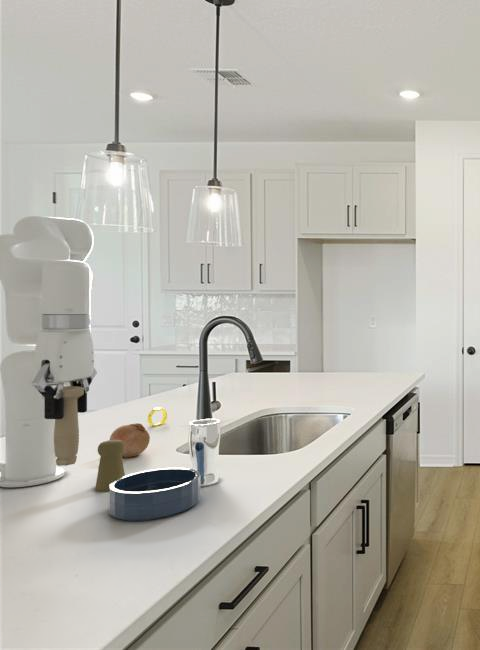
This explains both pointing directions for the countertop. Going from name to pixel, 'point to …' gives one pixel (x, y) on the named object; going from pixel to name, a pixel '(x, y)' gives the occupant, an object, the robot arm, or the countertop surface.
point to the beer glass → (205, 449)
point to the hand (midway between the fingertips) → (66, 414)
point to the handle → (67, 427)
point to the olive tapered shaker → (109, 464)
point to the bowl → (154, 494)
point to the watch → (153, 412)
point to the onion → (132, 439)
